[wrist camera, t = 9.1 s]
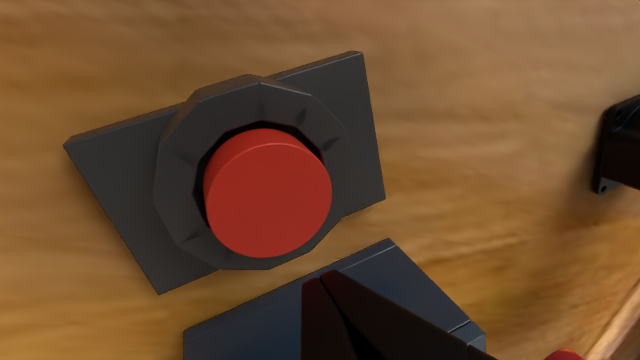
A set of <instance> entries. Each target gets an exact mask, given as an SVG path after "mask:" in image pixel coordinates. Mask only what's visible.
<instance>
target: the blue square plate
mask: <svg viewBox="0 0 640 360" xmlns="http://www.w3.org/2000/svg"><path fill="white" fill-rule="evenodd" d="M451 334H452V335H454V336H456V337H458V338H460V339H461V340H463V341H465V342H466V343H467V347H468V345H472V346H474V347H476V348H478V349H479V350H481V351H483V352H485V353H486V334H485V333H484V332H483V331H482V330H481V329H480V328H479V327H478V326H477V325H476V324H475V323H474V322H471V323H469V324H467V325H465V326H463V327H461V328H459V329H458V330H456V331H454V332H452V333H451Z"/></svg>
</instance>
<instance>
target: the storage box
mask: <svg viewBox="0 0 640 360" xmlns="http://www.w3.org/2000/svg"><path fill="white" fill-rule="evenodd" d="M332 269H336V270H338V271H339V272H341V273H343V274H345V275H347V276H348V277H350V278H352V279H354V280H356V281H357V282H359V283H361V284H363V285H365V286H366V287H368V288H370V289H372V290H374V291H375V292H377V293H379V294H381V295H382V296H384V297H386V298H388V299H390V300H391V301H393V302H395V303H397V304H399V305H400V306H402V307H404V308H406V309H408V310H409V311H411V312H413V313H415V314H417V315H418V316H420V317H422V318H424V319H425V320H427V321H429V322H431V323H433V324H434V325H436V326H438V327H440V328H442V329H443V330H445V331H447V332H449V333H452V332H454V331H456V330H458V329H459V328H461V327H463V326H465V325H467V324H469V323H471V319H470V318H469V317H468V316H467V315H466V314H465V313H464V312H463V311H462V310H461V309H460V308H459V307H458V306H457V305H456V304H455V303H454V302H453V301H452V300H451V299H450V298H449V297H448V296H447V295H446V294H445V293H444V292H443V291H442V290H441V289H440V288H439V287H438V286H437V285H436V284H435V283H434V282H433V281H432V280H431V279H430V278H429V277H428V276H427V275H426V274H425V273H424V272H423V271H422V270H421V269H420V268H419V267H418V266H417V265H416V264H415V263H414V262H413V261H412V260H411V259H410V258H409V257H408V256H407V255H406V254H405V253H404V252H403V251H402V250H401V249H400V248H399V247H398V246H396V244H395V243H394V242H393V241H392V240H391V239H390V238H388V239H386V240H383V241H381V242H379V243H377V244H375V245H372V246H370V247H368V248H366V249H364V250H361V251H359V252H357V253H355V254H353V255H350V256H348V257H346V258H344V259H341V260H339V261H337V262H335V263H333V264H330V265H328V266H326V267H324V268H322V269H319V270H317V271H315V272H313V273H311V274H308V275H306V276H304V277H302V278H300V279H297V280H295V281H293V282H291V283H289V284H286V285H284V286H282V287H280V288H278V289H275V290H273V291H271V292H269V293H267V294H264V295H262V296H260V297H258V298H255V299H253V300H251V301H249V302H247V303H244V304H242V305H240V306H238V307H236V308H233V309H231V310H229V311H227V312H225V313H222V314H220V315H218V316H216V317H214V318H211V319H209V320H207V321H205V322H203V323H200V324H198V325H196V326H194V327H192V328H189V329H187V330H185V331H184V332H183V360H300V339H301V287H302V284H303V283H304V282H306V281H308V280H310V279H312V278H314V277H318V278H319V276H320V275H321V274H323V273H325V272H328V271H330V270H332Z"/></svg>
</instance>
